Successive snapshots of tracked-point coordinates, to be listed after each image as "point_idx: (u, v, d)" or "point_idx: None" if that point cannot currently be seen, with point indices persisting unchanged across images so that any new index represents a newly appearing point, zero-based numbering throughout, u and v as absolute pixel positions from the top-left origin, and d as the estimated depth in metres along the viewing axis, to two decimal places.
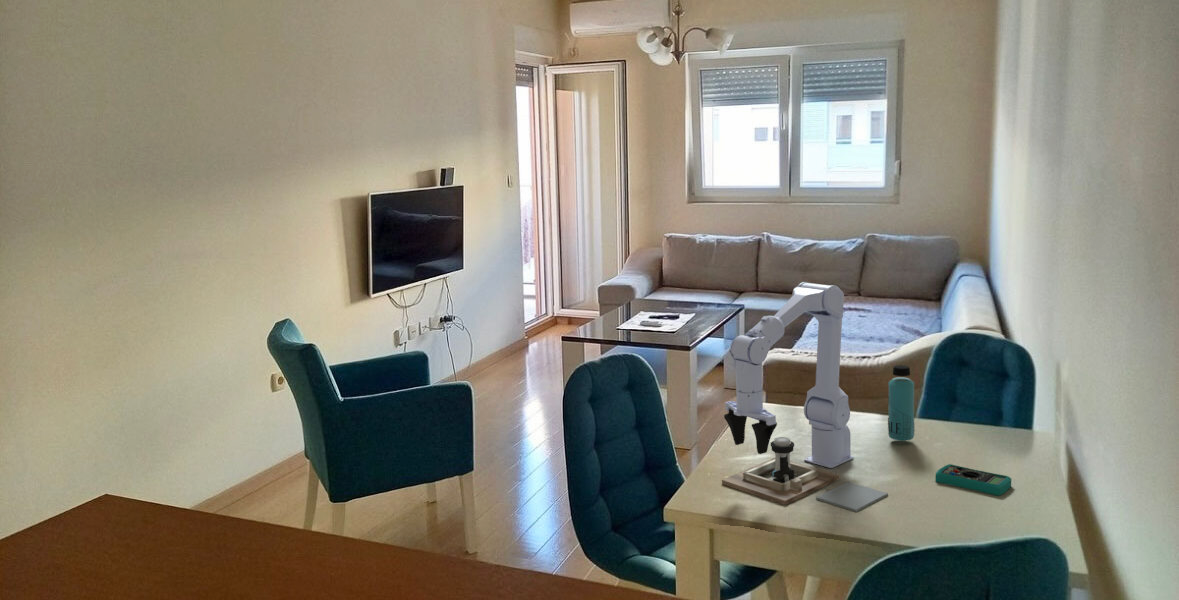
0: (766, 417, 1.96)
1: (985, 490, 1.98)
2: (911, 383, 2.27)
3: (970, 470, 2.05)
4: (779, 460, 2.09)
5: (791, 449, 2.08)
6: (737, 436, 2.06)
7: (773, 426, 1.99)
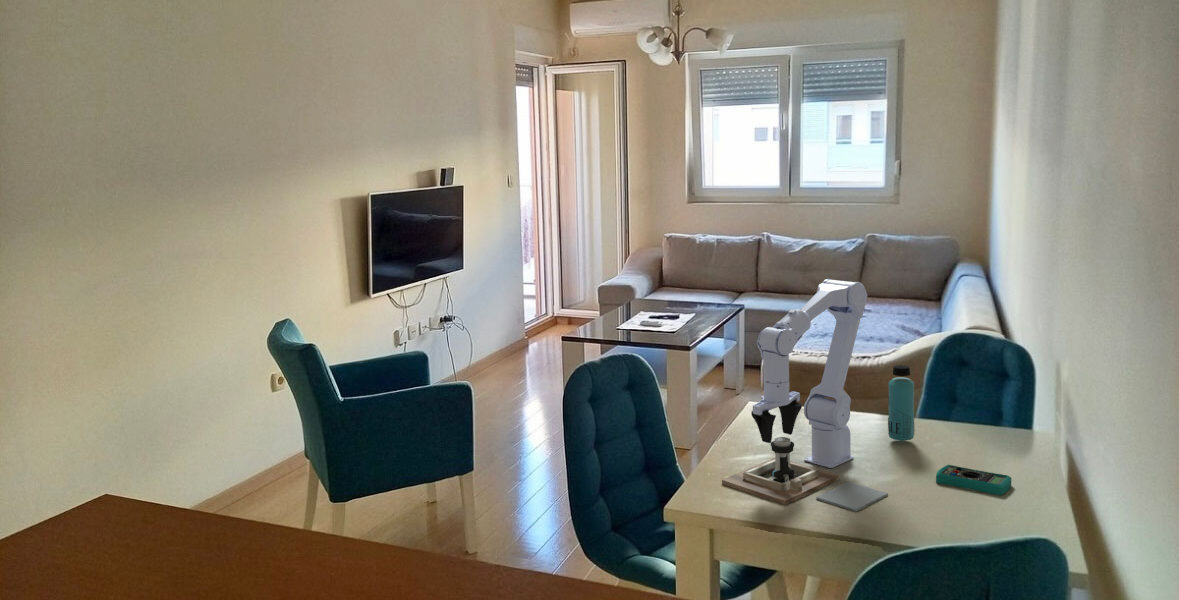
0: None
1: (987, 490, 1.98)
2: (911, 383, 2.27)
3: (970, 470, 2.05)
4: (779, 460, 2.09)
5: (791, 449, 2.08)
6: (784, 425, 2.11)
7: (765, 418, 2.03)
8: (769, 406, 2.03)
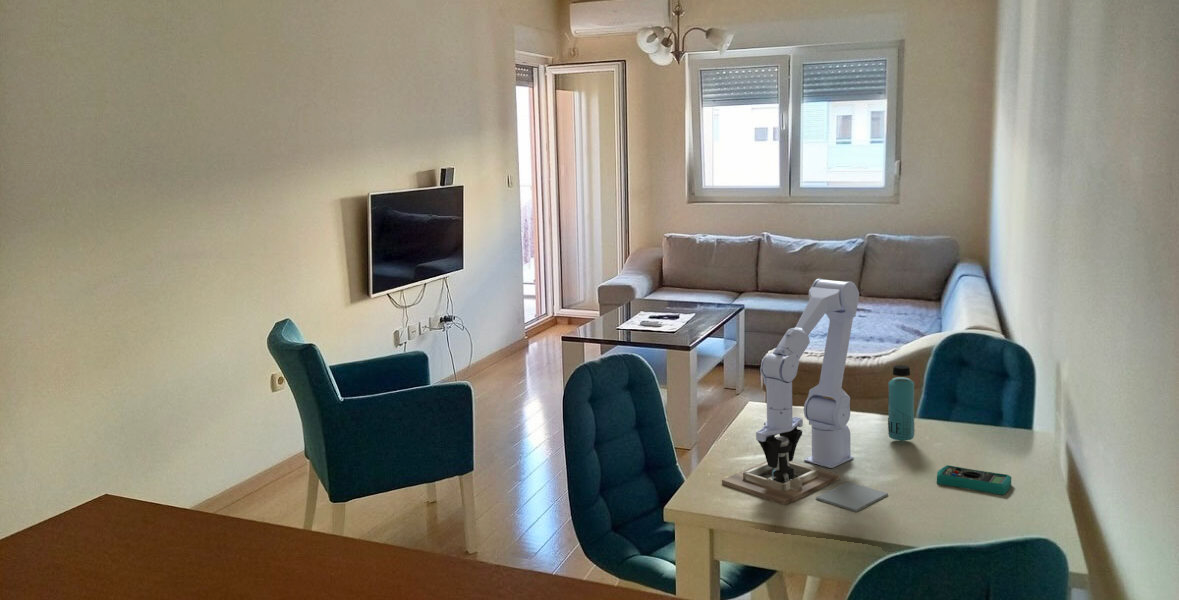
0: None
1: (989, 489, 1.98)
2: (911, 383, 2.27)
3: (969, 470, 2.05)
4: (778, 460, 2.08)
5: (789, 448, 2.07)
6: None
7: (771, 444, 2.04)
8: (772, 433, 2.04)
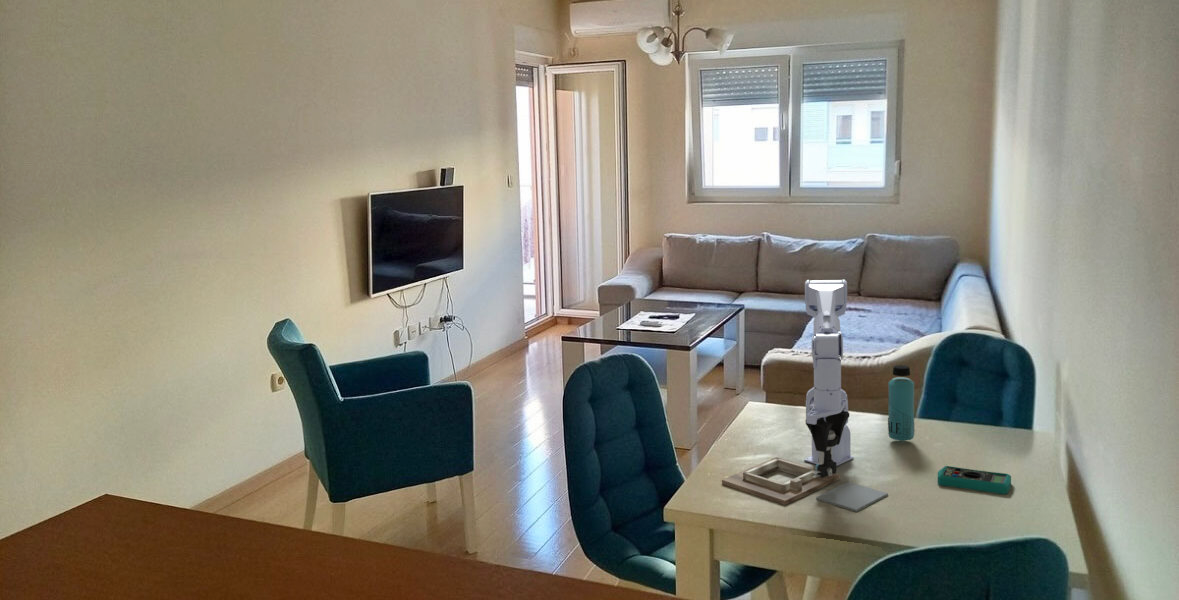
0: None
1: (991, 489, 1.98)
2: (911, 383, 2.27)
3: (968, 470, 2.05)
4: (823, 453, 2.00)
5: (836, 442, 2.00)
6: None
7: (821, 427, 1.95)
8: (823, 415, 1.95)
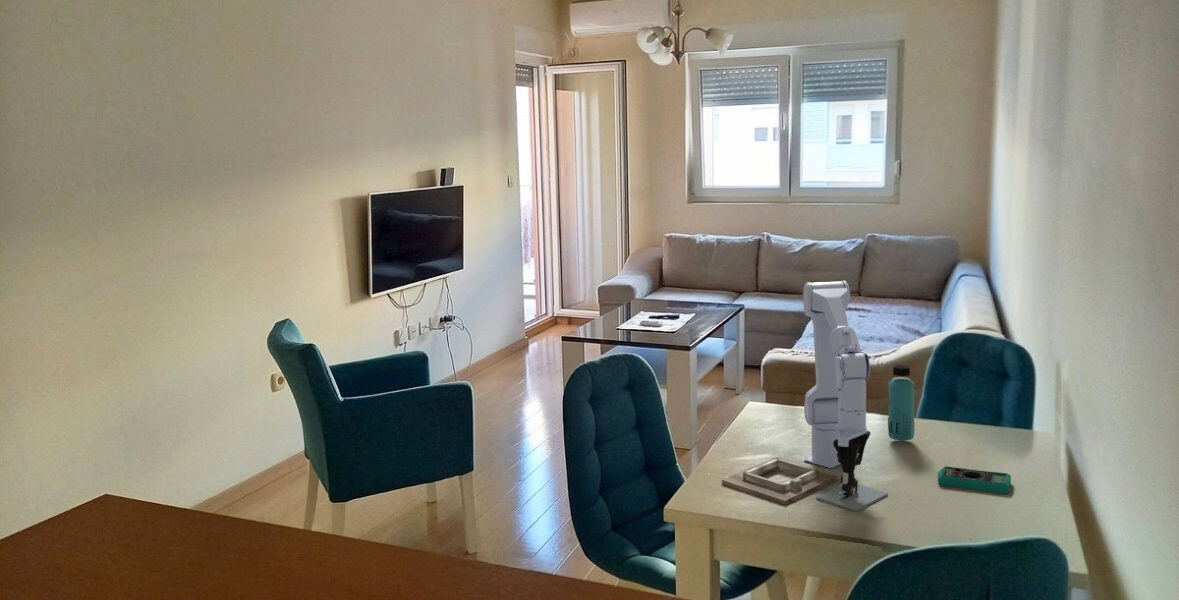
0: (838, 437, 1.92)
1: (993, 489, 1.98)
2: (911, 383, 2.27)
3: (968, 470, 2.05)
4: (848, 473, 1.97)
5: (860, 460, 1.97)
6: None
7: (852, 448, 1.92)
8: (853, 436, 1.92)
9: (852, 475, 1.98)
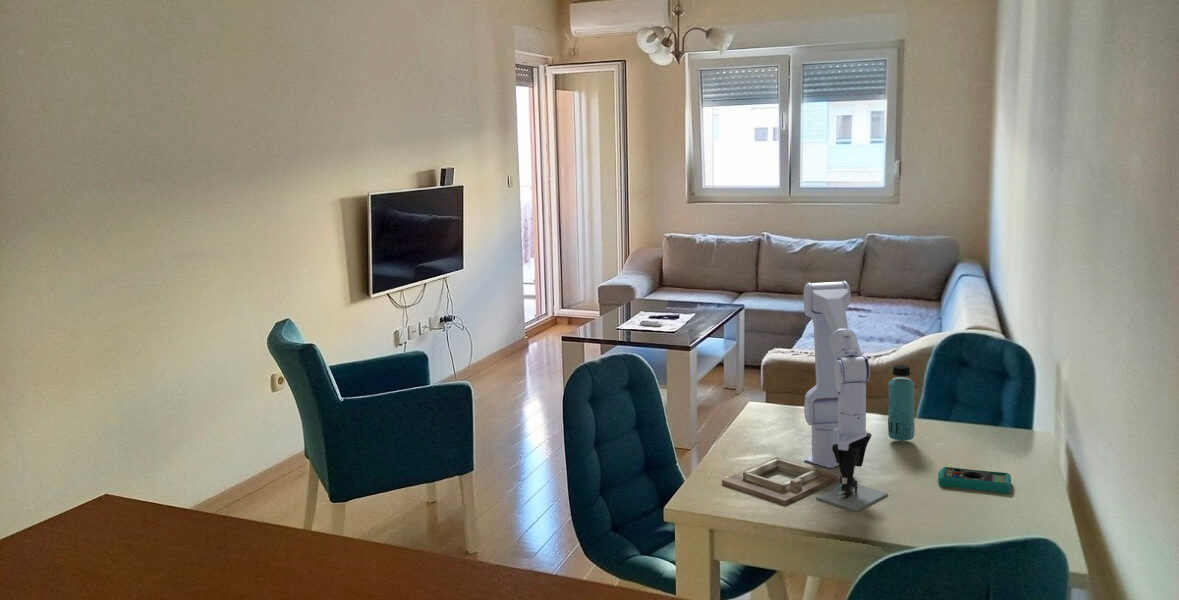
0: None
1: (994, 489, 1.98)
2: (911, 383, 2.27)
3: (968, 471, 2.05)
4: None
5: (858, 459, 1.98)
6: None
7: (851, 453, 1.91)
8: (853, 440, 1.92)
9: None
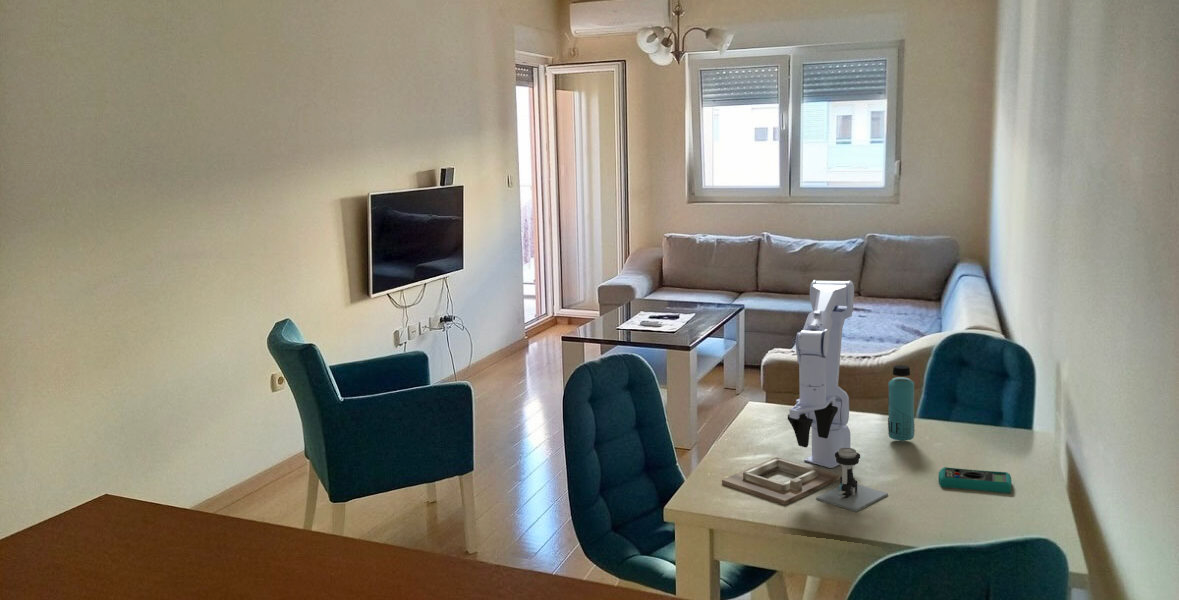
0: None
1: (995, 489, 1.98)
2: (911, 383, 2.27)
3: (968, 471, 2.05)
4: (846, 472, 1.98)
5: (858, 459, 1.98)
6: (819, 429, 2.08)
7: (802, 422, 1.99)
8: (806, 410, 1.99)
9: (851, 475, 1.98)
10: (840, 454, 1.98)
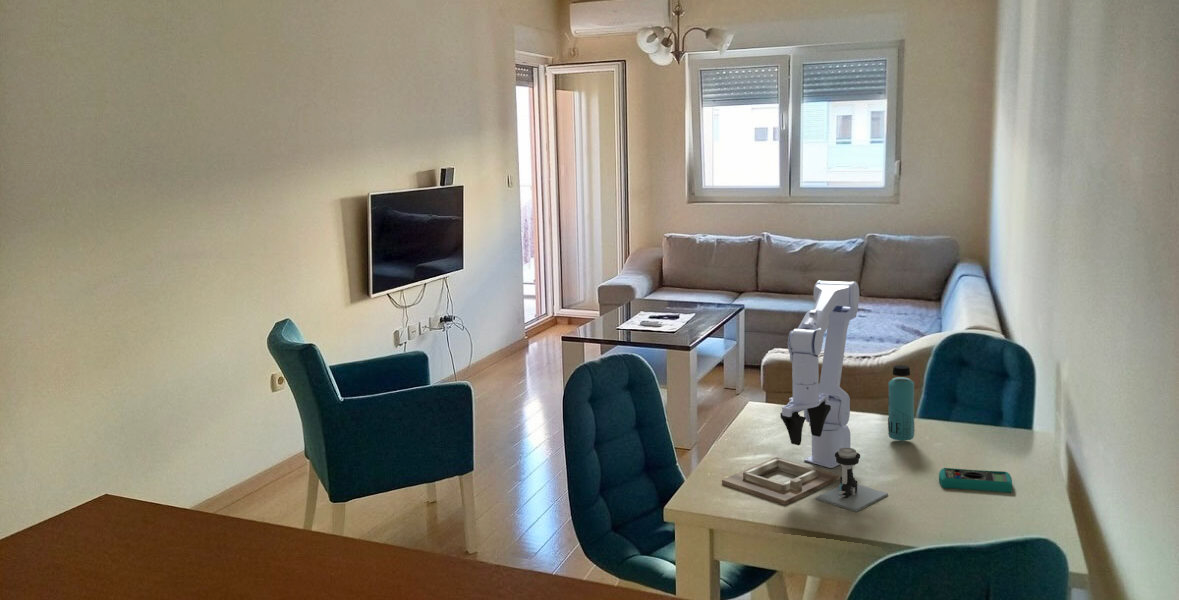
0: None
1: (997, 488, 1.98)
2: (911, 383, 2.27)
3: (967, 471, 2.05)
4: (846, 472, 1.98)
5: (858, 459, 1.98)
6: (812, 427, 2.09)
7: (794, 420, 2.01)
8: (799, 408, 2.01)
9: (851, 475, 1.98)
10: (840, 454, 1.98)
